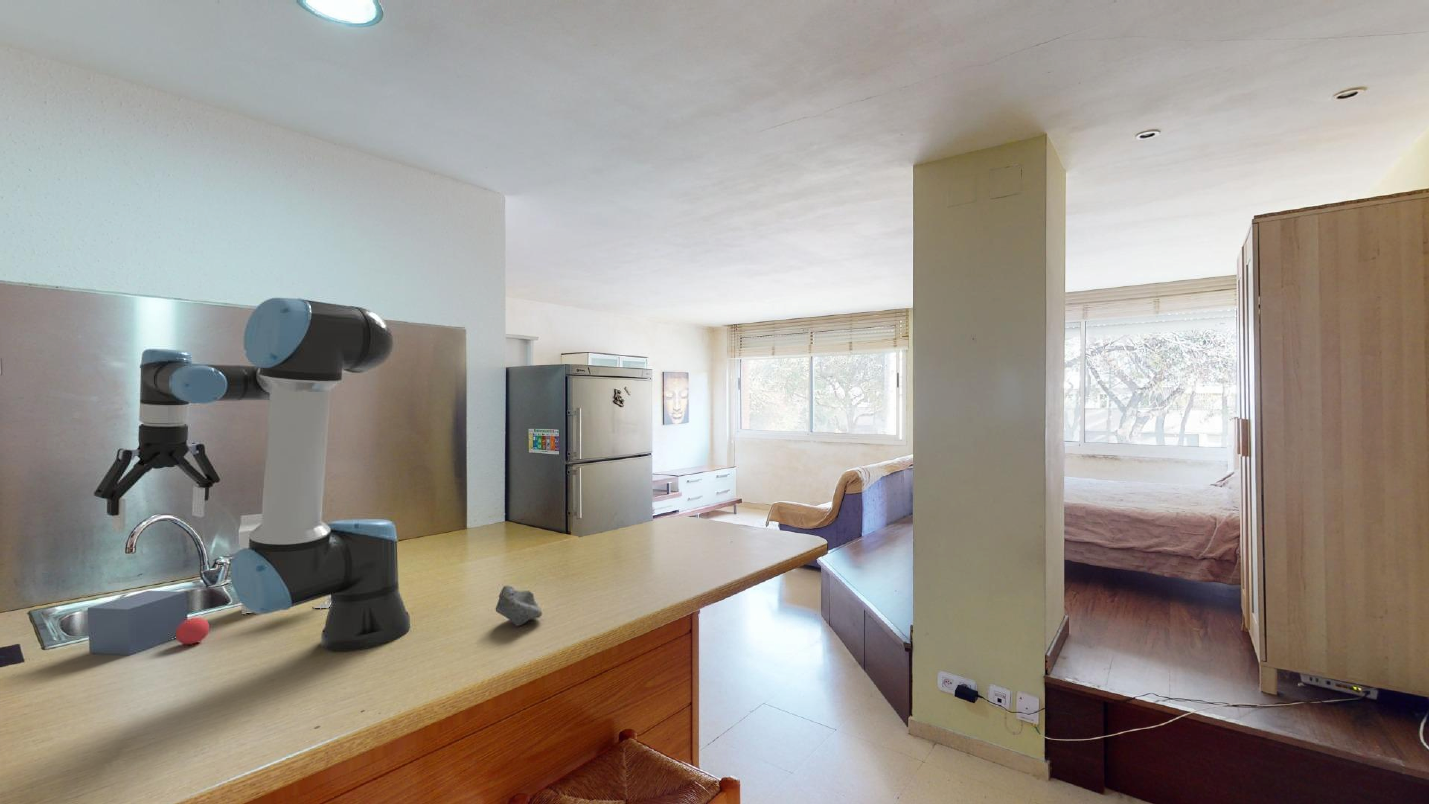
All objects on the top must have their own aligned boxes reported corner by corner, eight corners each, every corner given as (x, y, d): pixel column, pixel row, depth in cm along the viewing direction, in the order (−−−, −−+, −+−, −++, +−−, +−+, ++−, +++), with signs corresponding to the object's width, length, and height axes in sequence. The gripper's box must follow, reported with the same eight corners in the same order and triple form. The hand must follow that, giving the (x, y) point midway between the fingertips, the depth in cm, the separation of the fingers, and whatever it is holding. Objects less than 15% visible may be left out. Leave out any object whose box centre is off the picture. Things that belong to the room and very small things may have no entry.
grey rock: (548, 627, 116) (546, 587, 116) (500, 638, 112) (499, 596, 112) (536, 611, 126) (534, 574, 126) (491, 620, 121) (490, 582, 121)
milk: (274, 609, 134) (270, 514, 134) (241, 615, 131) (237, 518, 131) (278, 602, 140) (275, 510, 140) (246, 607, 137) (243, 513, 137)
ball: (216, 638, 118) (215, 614, 118) (189, 649, 113) (188, 623, 113) (196, 637, 119) (195, 613, 119) (169, 648, 114) (168, 622, 114)
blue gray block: (188, 633, 121) (186, 591, 121) (130, 655, 111) (128, 609, 111) (149, 632, 123) (148, 590, 123) (89, 652, 113) (87, 607, 113)
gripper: (220, 417, 134) (216, 507, 136) (71, 425, 111) (68, 533, 112) (241, 422, 132) (237, 513, 133) (94, 430, 108) (90, 541, 110)
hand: (160, 523), depth 123 cm, fingers open, 13 cm apart
